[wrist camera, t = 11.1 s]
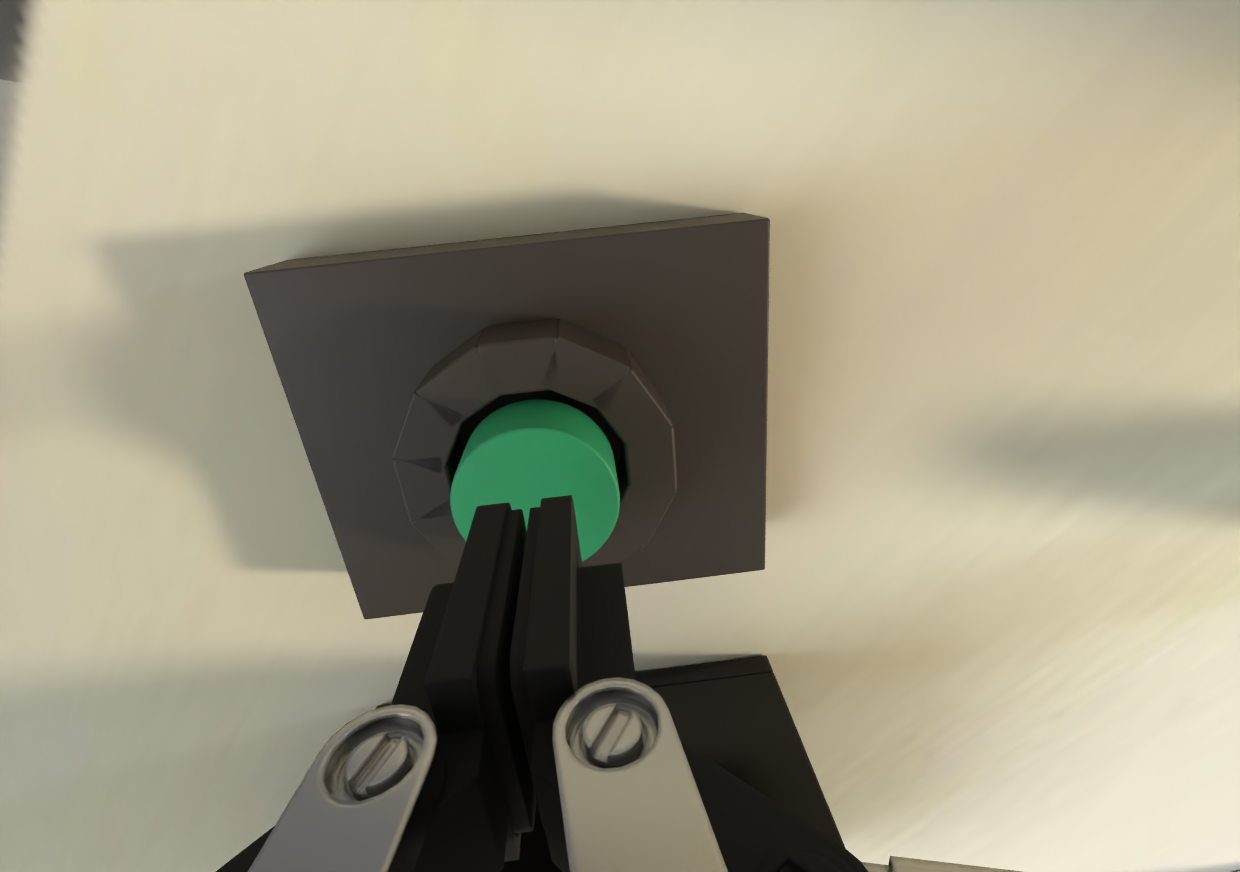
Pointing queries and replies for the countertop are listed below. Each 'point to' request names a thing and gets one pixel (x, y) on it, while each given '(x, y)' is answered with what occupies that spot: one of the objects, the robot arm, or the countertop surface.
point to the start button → (539, 468)
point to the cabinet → (725, 742)
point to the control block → (532, 387)
